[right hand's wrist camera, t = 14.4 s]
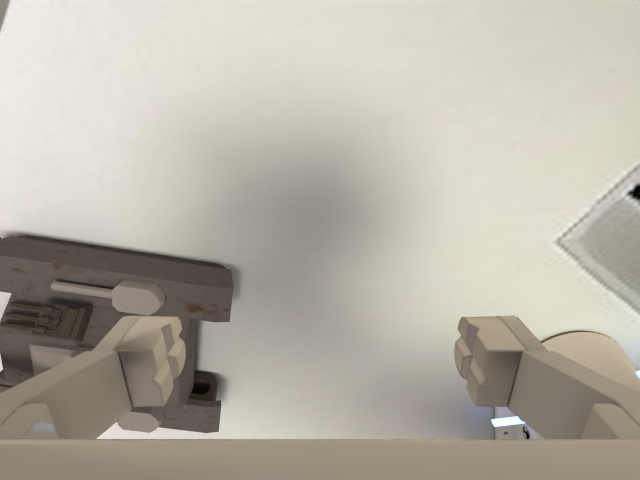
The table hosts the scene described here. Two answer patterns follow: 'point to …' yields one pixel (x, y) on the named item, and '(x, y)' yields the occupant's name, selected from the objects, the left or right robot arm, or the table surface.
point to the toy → (108, 316)
